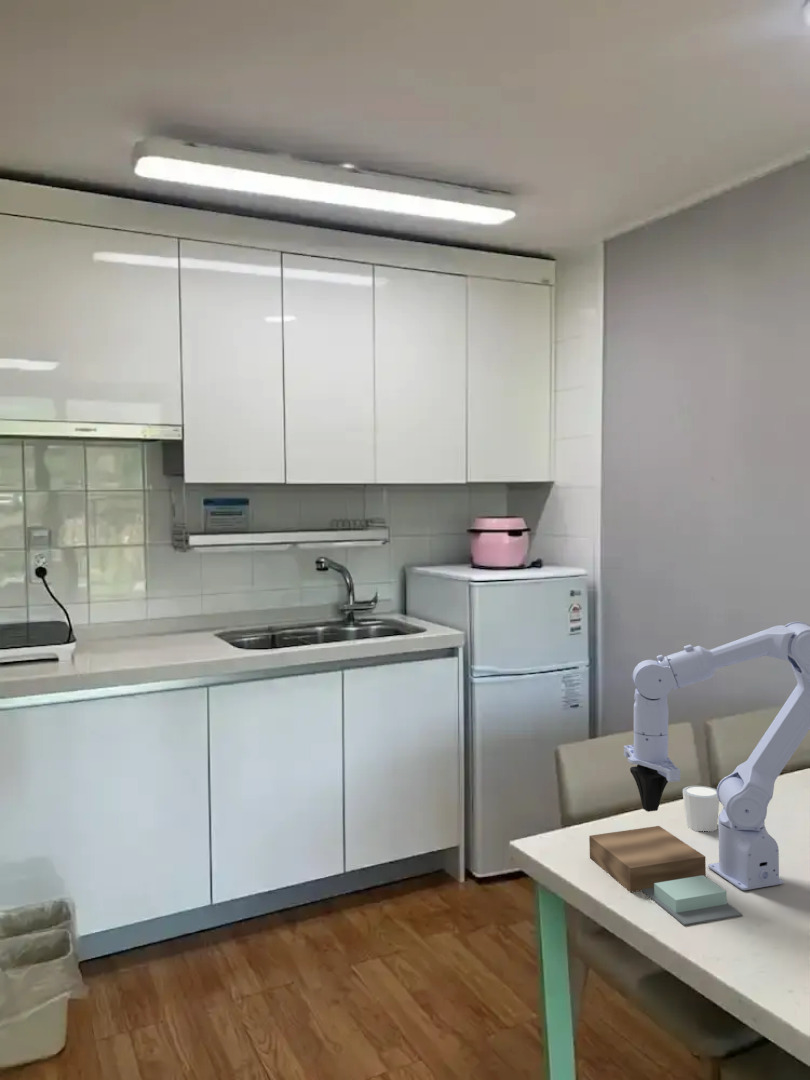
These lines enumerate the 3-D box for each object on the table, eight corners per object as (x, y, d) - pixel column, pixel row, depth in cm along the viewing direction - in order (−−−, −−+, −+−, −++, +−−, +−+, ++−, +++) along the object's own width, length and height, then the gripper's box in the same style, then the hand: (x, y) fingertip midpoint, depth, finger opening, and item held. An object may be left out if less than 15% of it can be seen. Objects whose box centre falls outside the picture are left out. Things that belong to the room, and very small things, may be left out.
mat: (742, 915, 126) (742, 913, 126) (684, 926, 124) (684, 924, 124) (695, 882, 138) (695, 880, 138) (642, 891, 135) (642, 889, 135)
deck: (705, 880, 138) (705, 856, 138) (630, 892, 135) (630, 868, 134) (659, 847, 152) (658, 825, 152) (589, 857, 148) (589, 835, 148)
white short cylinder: (714, 836, 156) (713, 799, 156) (678, 828, 160) (677, 792, 160) (725, 824, 162) (724, 789, 161) (689, 817, 166) (689, 782, 165)
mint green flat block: (703, 875, 135) (703, 887, 135) (654, 883, 133) (654, 895, 133) (726, 891, 129) (726, 903, 129) (675, 900, 127) (676, 912, 127)
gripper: (608, 722, 148) (608, 797, 148) (653, 745, 134) (653, 828, 134) (643, 719, 150) (643, 793, 150) (691, 741, 136) (691, 823, 136)
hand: (650, 809), depth 142 cm, fingers closed
